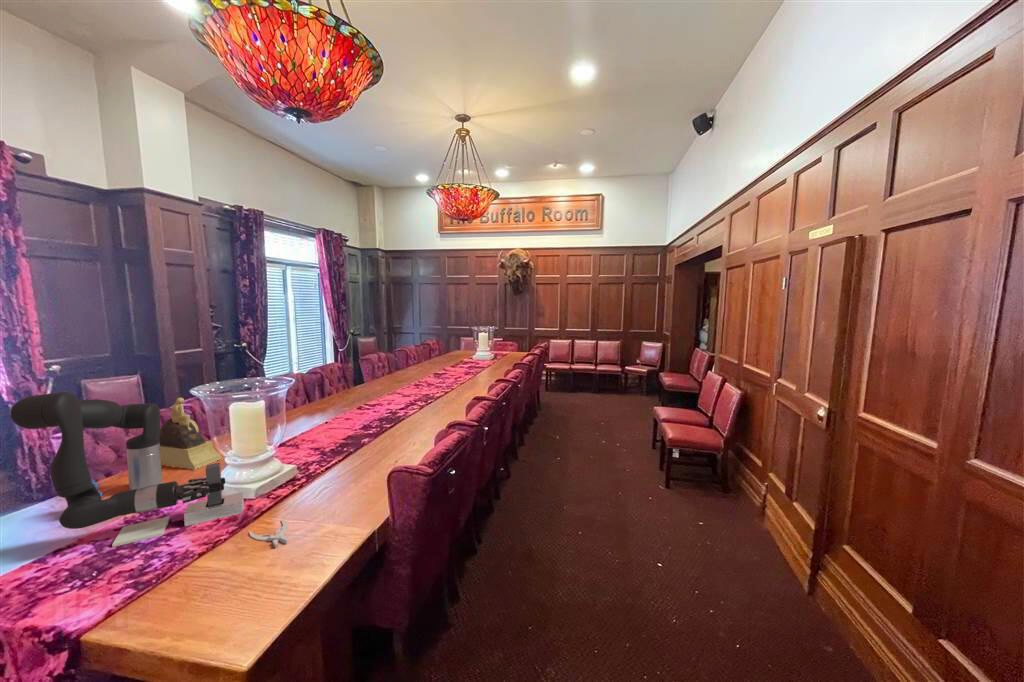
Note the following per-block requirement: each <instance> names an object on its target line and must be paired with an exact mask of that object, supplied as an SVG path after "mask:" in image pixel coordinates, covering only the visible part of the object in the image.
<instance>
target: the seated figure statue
mask: <svg viewBox="0 0 1024 682" xmlns="http://www.w3.org/2000/svg"><path fill="white" fill-rule="evenodd" d="M184 401H185V399H184V397H178V398H176V400H175V403H174V404H173V405H172V407H171V411H170V416H171V417H170V418H169V419H168V420H166V421H165V422H164V423H163V425H162V426H161V427H160V452H161V465H168V466H174V467H173V468H175V467H181V468H180V469H182V468H187V469H186V470H190V469H194V470H193V471H196V470H195V469H197V468H199V469H201V468H200V467H202V466H204V467H206V466H205V465H207V464H209V463H212V462H214V463H216V462H215V461H217V460H219V459H221V458H222V456H221V455H222V454H221V453H220V452H219V451H217V450H216V449H215V448H214V445H213V441H208V440H206V439H205V438H204V436H203V435H201V434H200V431H199V426H198V424H197V422H196V421H194V420H193V419H191V415H190V414H187V413H186V414H185V411H184V410H185V409H184V405H183V404H184ZM222 460H224V457H223V458H222ZM217 462H218V461H217ZM212 464H213V463H212ZM202 468H203V467H202ZM197 470H198V469H197Z"/></svg>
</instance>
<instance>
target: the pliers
mask: <svg viewBox="0 0 1024 682" xmlns="http://www.w3.org/2000/svg"><path fill="white" fill-rule="evenodd" d="M280 522H281V525H282V526H281V527H280V528H279V529H277V530H276V532H275V535H273V534H259V535H258V534H256V533H254V532H252V531H248V533H249V536H250V538H252V539H253V540H257V541H262V542H265V541H268V542H272V546H273V547H274V548H275V549H278V548H279V545H278V544H279V543H282V544H285V545H288V544H289V543H290V542H289V538H287V536H285V535H284V534H285V533H286V532H287V530H288V524H287V521H285V519H281V520H280Z"/></svg>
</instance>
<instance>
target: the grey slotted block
mask: <svg viewBox="0 0 1024 682" xmlns="http://www.w3.org/2000/svg"><path fill="white" fill-rule="evenodd" d="M222 502H223V504H220V505H216V506H211V507H208V500H207V499H204V500H200V501H199V500H198V501H195V502H190V503H189V502H188V503H187V505H186V507H185V510H184V513H183V518H184V520H183V521H184V527H189V526H193V525H197V524H201V523H205V522H209V521H213V519H214V520H217V518H219V519H222V517H223V518H226V517H231V516H234V515H240V514H243V512H244V504H245V502H244V492H237V493H233V494H229V495H222Z"/></svg>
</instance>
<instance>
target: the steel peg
mask: <svg viewBox="0 0 1024 682" xmlns="http://www.w3.org/2000/svg"><path fill="white" fill-rule="evenodd" d="M221 472H222V469H221V462H214V463H212V464H209V465H207V466H205V478H206V483H207V486H209V487H210V486H211V485H216V484H221V478H222V473H221ZM222 497H223V490H222V491H217V492H212V493H210V494H208V495H206V498H207V499H206V500H208V507H211V506H216V505H220V504H223V502H222Z"/></svg>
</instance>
